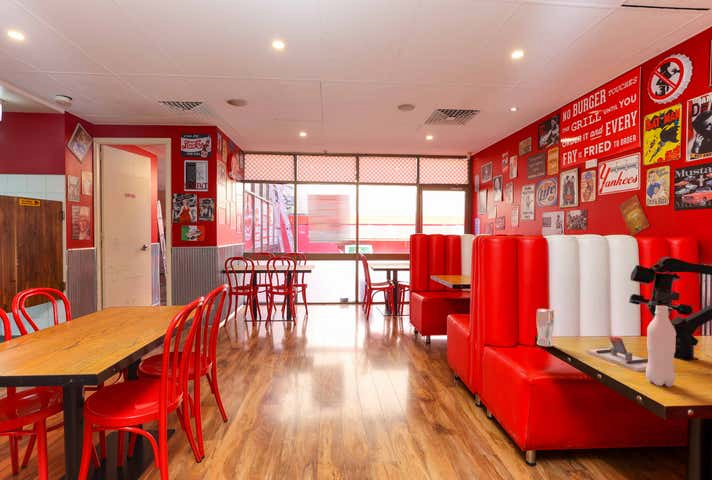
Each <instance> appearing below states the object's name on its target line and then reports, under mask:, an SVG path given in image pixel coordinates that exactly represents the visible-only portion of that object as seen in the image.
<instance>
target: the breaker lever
mask: <svg viewBox="0 0 712 480" xmlns="http://www.w3.org/2000/svg"><path fill="white" fill-rule="evenodd" d="M608 339H609V340H610V342H611V344H612V345H611V346H612V348H614V350H615V352H618V353H621V354H624V355H625V354H626V353H628V350H627V348H626V346H625V343H624V340H623V338H621V337H618V336H615V335H609V337H608Z"/></svg>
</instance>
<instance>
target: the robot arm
mask: <svg viewBox="0 0 712 480" xmlns="http://www.w3.org/2000/svg"><path fill="white" fill-rule="evenodd" d="M667 272H668V273H667ZM630 273H631V274H630V281H632V282H636V283H640V284H644V285H650V284H652V283H653V285H652V291H651V297H650V299H649V298H648V299H647V298H645V296H644V295H640V294H635V293H633V294H631V295H630V297H629V301H628V303H629V304H632V305H637V306H638V305H640V304H645V305H646V307H645V309H648V311H649V312H650V315H651V317H652V320H653V319H654V317H655V314H656V313H655V312H656V311H655V310H656V306H657V305H658V306H667V307H668V313H669V314H671V313H672V312H673V310H674V311H675V312H676V313H677V314H679V315H677V316H675V317H674V318H673V319H669V320H670V322H671V324H672V325H673V327H674V329H675V331H676V343H675V354H674V358H677V359H681V360H684V361H688V362H689V361H695V360H699V359H700V358H699V357H696V356H695V347H696V346H697V345H698V343H699V339H697V338H696V337H695V336H694V334H695V333H696V332H697V330H698V328H700V326H703V325H704V324H707V323H708V322H710V321H712V303H711V304H709V305H707V306H706V307H704V308H702V309H700V310H698V311H697V312H695V313H693V312H694V307H693V306H692V305H690V304H683V303H678V304H673V303H672V301H675V302H679V300H680V296H681V295H680V294H681V293H680V292H676V291H673V285H674V281H675V282H676V281H678V280H681V279H682V278H681V276H679V275H678V274H677V273H693V274H699V275H700V274H701V275H709V276H712V265H708V264H701V263H694V262H689V261H686V260H682V259H679V258H676V257H670V256H663V257H661V258H659V260H658V261H657V263H655V264H654V265H652V266H650V267H645V266H643V265H639V264H638V265H637V264H635V267H634V269H633V270H632V271H631V272H630ZM672 273H673V274H672ZM680 315H683V316H687V317H682V316H680Z"/></svg>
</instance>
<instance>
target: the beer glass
mask: <svg viewBox="0 0 712 480" xmlns="http://www.w3.org/2000/svg"><path fill="white" fill-rule="evenodd" d="M535 319H536V321H535V323H536V328H537V341H536V345H538V346H540V347H547V348H548V347H549V348H550V347H553V341H552V340H553V339H552V338H553V337H552V336H553V332H554V327H555V310H554V309H549V308H548V309H547V308H537V309H536V318H535Z"/></svg>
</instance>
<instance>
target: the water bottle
mask: <svg viewBox="0 0 712 480" xmlns="http://www.w3.org/2000/svg"><path fill="white" fill-rule="evenodd" d="M655 311H656V312H655V313H656V314H655V317H654V319H653V318H652V320H651V321H650V323H649V324H648V326H647V329H646V332H647V334H646V349H647V356H648V358H647V359H648V365H647V368H646V370H645V375H646V378H647V380H648V382H649V383H651V384H652V383H653V384H654V385H656V386H658V387H662V386H663V385H664V386H666V387H668V388H670V387H672V386H673V385H674V383H675V381H676V374H675V370H674V369H675V368H674V358H675V357H674V354H675V343H676V331H675V329H674V327H673V325H672V324H671V322H670V320H671V319H670V318H669V315H670V313H668V307H667V306H666V305H664V306H658V305H657V306H656V310H655Z"/></svg>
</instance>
